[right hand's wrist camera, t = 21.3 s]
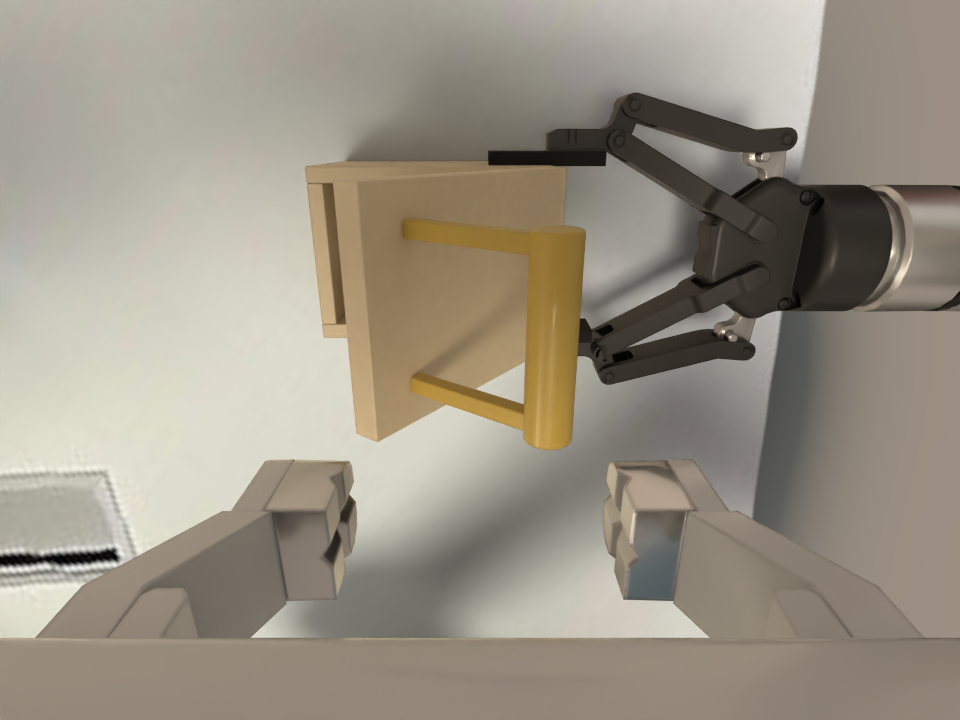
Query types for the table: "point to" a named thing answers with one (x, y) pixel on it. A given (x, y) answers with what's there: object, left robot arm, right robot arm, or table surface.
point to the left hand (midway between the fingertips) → (487, 249)
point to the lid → (461, 297)
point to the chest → (326, 220)
